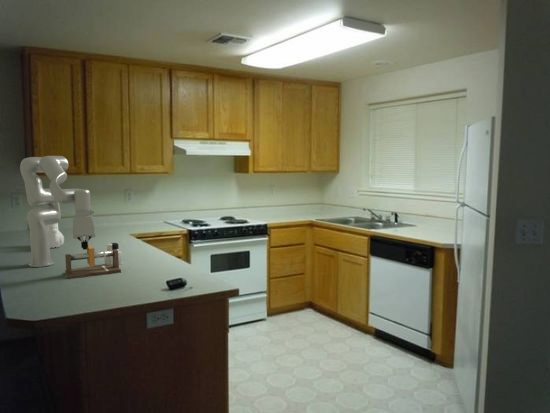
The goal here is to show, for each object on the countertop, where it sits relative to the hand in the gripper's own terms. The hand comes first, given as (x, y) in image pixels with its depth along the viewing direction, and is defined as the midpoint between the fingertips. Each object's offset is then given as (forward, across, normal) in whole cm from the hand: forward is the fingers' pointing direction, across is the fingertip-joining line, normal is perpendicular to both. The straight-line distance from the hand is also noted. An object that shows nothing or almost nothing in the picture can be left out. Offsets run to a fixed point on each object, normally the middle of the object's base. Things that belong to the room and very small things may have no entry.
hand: (84, 249), depth 236 cm
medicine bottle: (+13, -16, -15) cm, 25 cm away
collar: (+8, -3, 0) cm, 9 cm away
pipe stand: (+13, -4, 0) cm, 13 cm away
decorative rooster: (+13, +10, -88) cm, 90 cm away
